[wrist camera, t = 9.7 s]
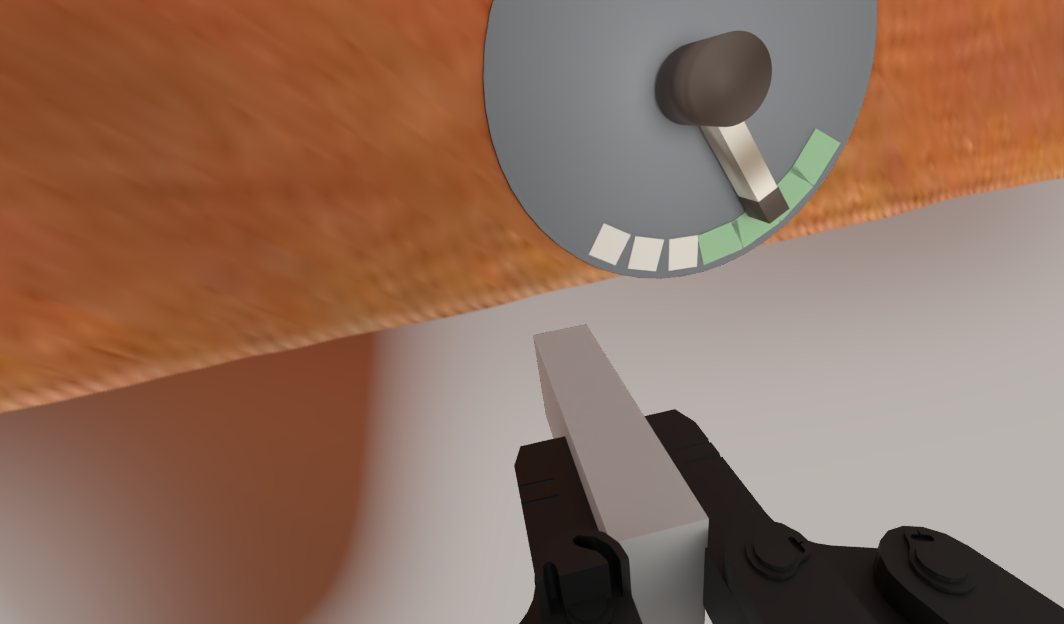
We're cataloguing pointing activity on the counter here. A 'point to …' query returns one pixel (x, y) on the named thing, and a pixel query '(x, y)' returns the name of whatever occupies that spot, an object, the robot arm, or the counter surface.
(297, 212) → the counter surface
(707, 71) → the needle
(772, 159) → the dial
